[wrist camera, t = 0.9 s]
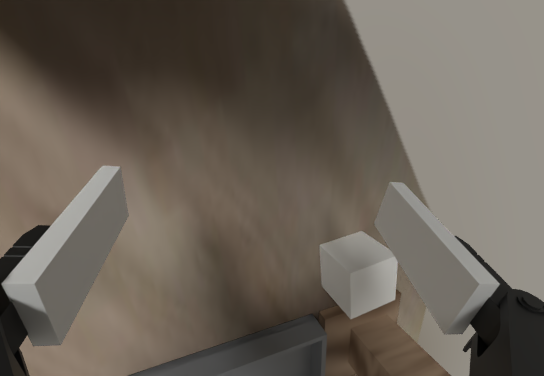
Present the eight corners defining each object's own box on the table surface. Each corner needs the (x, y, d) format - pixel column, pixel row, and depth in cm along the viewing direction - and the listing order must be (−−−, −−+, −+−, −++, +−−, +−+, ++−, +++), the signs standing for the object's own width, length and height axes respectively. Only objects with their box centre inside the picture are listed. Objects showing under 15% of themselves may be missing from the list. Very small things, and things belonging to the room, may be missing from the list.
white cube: (361, 230, 36) (398, 255, 31) (361, 270, 38) (395, 299, 33) (319, 244, 34) (350, 273, 29) (321, 285, 36) (350, 319, 31)
